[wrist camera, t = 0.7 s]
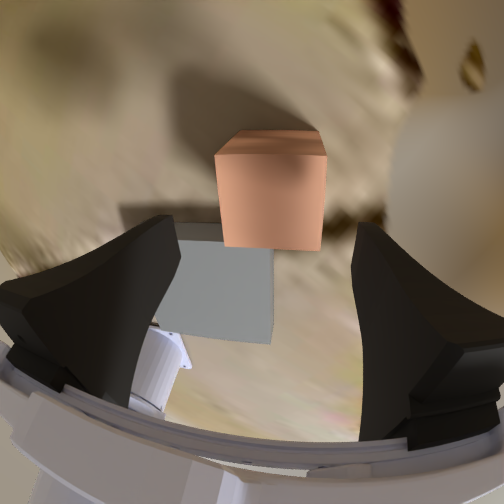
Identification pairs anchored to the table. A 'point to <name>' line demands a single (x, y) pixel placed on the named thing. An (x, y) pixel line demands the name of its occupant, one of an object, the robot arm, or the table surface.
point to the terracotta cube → (272, 189)
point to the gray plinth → (219, 288)
